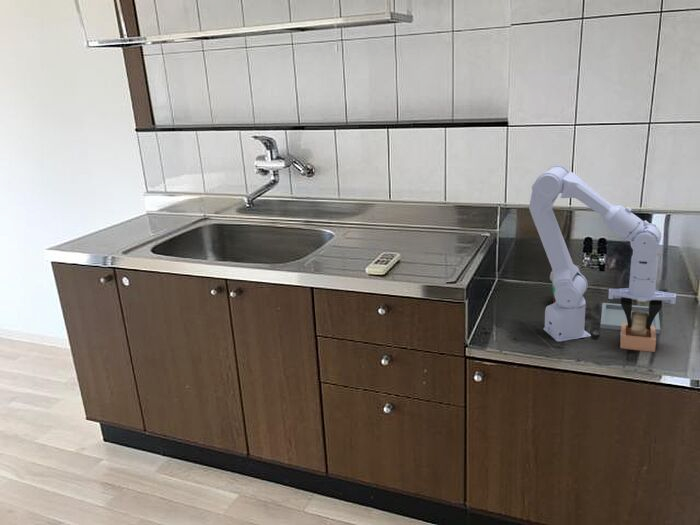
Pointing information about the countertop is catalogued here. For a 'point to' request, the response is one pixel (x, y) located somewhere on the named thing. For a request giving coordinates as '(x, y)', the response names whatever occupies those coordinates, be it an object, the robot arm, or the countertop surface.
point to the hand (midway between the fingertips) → (638, 326)
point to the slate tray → (622, 316)
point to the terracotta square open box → (638, 339)
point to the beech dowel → (639, 323)
